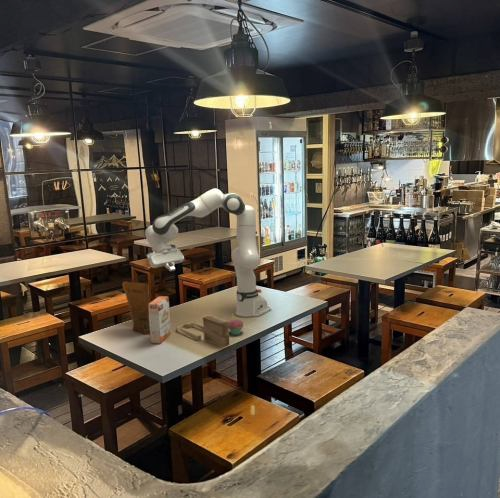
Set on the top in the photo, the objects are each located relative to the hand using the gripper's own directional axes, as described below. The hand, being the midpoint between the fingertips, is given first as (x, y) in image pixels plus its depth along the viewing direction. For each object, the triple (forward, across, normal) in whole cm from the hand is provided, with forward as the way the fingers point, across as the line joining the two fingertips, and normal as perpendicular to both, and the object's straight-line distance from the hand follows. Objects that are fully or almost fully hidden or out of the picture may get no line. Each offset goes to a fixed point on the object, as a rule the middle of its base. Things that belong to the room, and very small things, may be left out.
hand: (172, 270), depth 249 cm
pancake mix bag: (+18, -19, +26) cm, 37 cm away
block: (+48, 0, -3) cm, 48 cm away
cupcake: (+47, +14, -2) cm, 49 cm away
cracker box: (+30, -17, +14) cm, 38 cm away
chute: (+35, 0, +9) cm, 36 cm away
